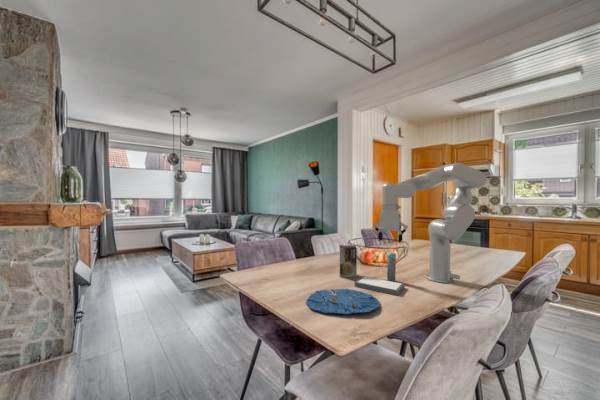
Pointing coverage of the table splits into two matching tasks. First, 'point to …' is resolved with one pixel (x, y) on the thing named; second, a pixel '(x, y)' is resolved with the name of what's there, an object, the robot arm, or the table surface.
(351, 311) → the decorative plate
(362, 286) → the drawing board
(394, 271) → the marker
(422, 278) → the table surface
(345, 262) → the coffee box
